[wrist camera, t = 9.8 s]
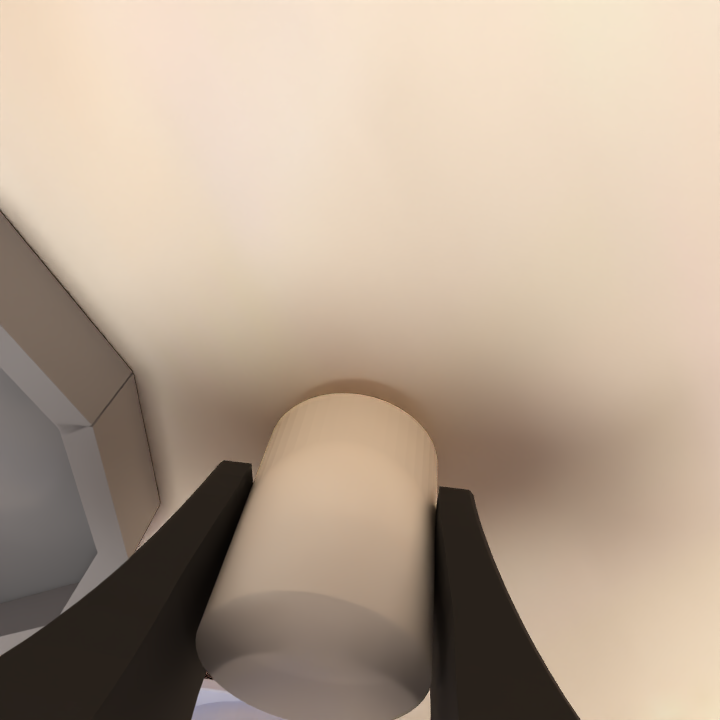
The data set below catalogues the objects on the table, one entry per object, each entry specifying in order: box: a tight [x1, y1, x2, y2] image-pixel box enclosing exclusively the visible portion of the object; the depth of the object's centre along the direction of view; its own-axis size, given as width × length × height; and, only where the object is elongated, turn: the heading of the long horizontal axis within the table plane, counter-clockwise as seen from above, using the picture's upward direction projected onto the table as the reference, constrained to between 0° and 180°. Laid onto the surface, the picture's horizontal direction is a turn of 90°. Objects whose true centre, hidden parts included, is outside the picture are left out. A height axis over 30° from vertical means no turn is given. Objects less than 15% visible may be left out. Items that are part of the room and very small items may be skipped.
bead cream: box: [196, 393, 438, 720], centre depth 12 cm, size 4×4×5 cm
